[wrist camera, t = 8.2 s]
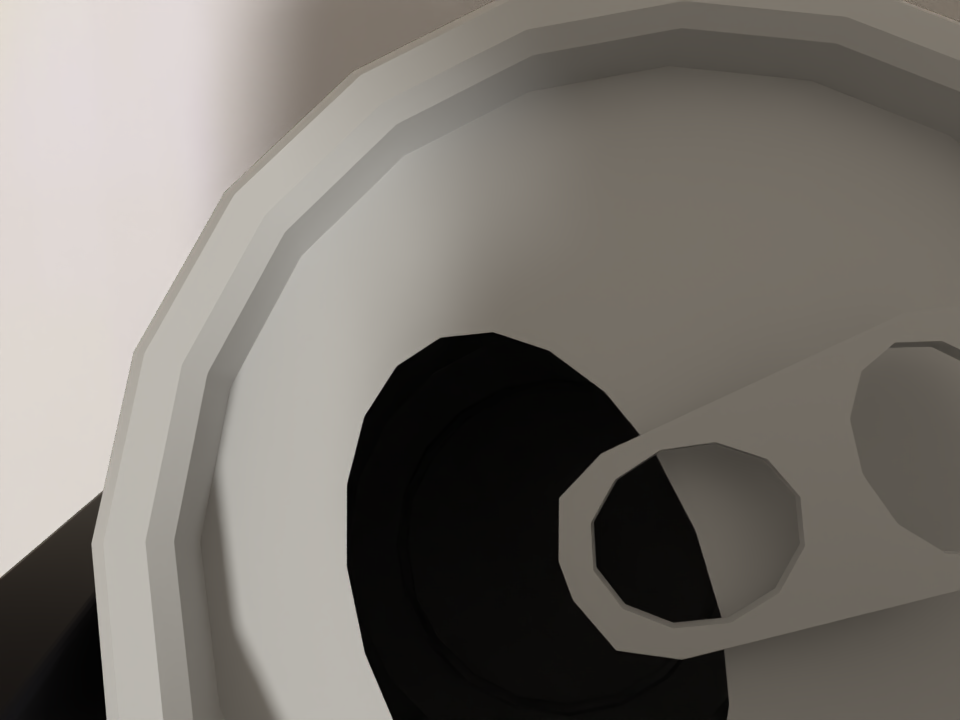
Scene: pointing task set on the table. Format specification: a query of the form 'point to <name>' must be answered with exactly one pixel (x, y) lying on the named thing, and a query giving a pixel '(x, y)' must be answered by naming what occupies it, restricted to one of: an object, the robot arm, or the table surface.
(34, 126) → the table surface
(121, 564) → the can
